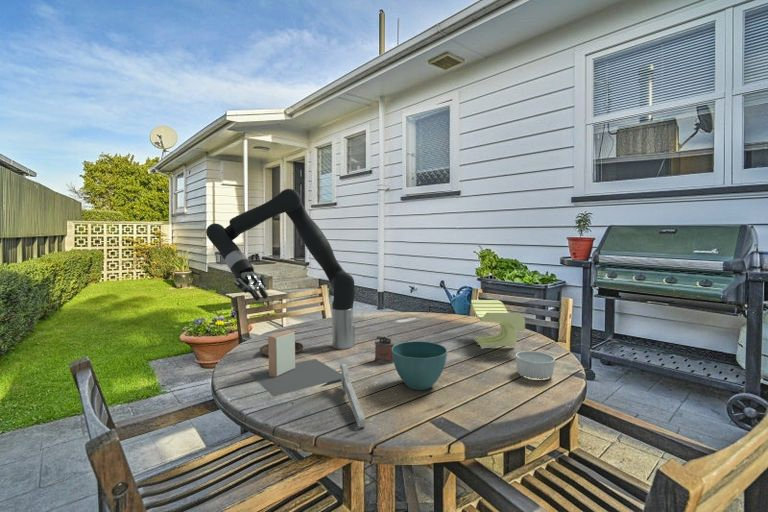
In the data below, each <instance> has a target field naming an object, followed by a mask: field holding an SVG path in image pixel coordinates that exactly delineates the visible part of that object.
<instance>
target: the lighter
mask: <svg viewBox="0 0 768 512" xmlns="http://www.w3.org/2000/svg"><path fill="white" fill-rule="evenodd" d="M374 345H375V347H374V348H375V349H374V352H375V353H374V357H375V358H374V361H375V362H377V363H378V362H379V363H382V362H384V364H394V361H393V357H392V348H393V347H394V346H395V343H394V342H392V338H391V337H390V336H387V335H385V336H382V335H376V341H374Z"/></svg>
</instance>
